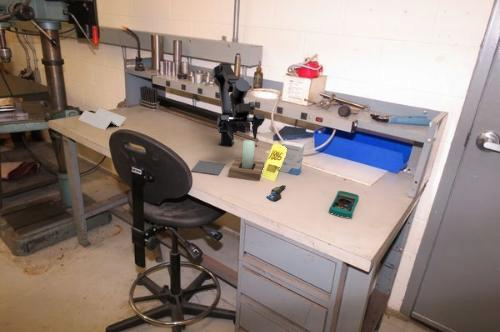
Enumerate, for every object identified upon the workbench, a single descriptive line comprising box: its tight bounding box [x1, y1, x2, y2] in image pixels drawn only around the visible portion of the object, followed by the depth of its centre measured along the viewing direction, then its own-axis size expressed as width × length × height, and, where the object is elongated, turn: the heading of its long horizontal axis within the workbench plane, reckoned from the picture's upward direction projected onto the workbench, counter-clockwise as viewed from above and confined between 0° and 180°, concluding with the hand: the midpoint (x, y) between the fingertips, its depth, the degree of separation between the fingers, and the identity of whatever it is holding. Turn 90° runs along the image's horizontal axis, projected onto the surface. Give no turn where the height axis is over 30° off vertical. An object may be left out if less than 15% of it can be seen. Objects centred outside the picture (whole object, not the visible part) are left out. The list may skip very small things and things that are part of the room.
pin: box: [241, 139, 256, 170], centre depth 133 cm, size 4×4×13 cm
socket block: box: [228, 158, 265, 182], centre depth 135 cm, size 12×12×3 cm
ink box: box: [279, 140, 305, 176], centre depth 138 cm, size 9×5×12 cm, turn 65°
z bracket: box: [78, 107, 127, 131], centre depth 183 cm, size 12×25×6 cm
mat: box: [190, 160, 226, 176], centre depth 138 cm, size 11×11×1 cm
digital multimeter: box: [328, 190, 360, 219], centre depth 116 cm, size 7×15×3 cm, turn 155°
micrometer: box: [266, 184, 287, 203], centre depth 121 cm, size 12×2×5 cm
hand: (244, 139), depth 136 cm, fingers open, 9 cm apart
